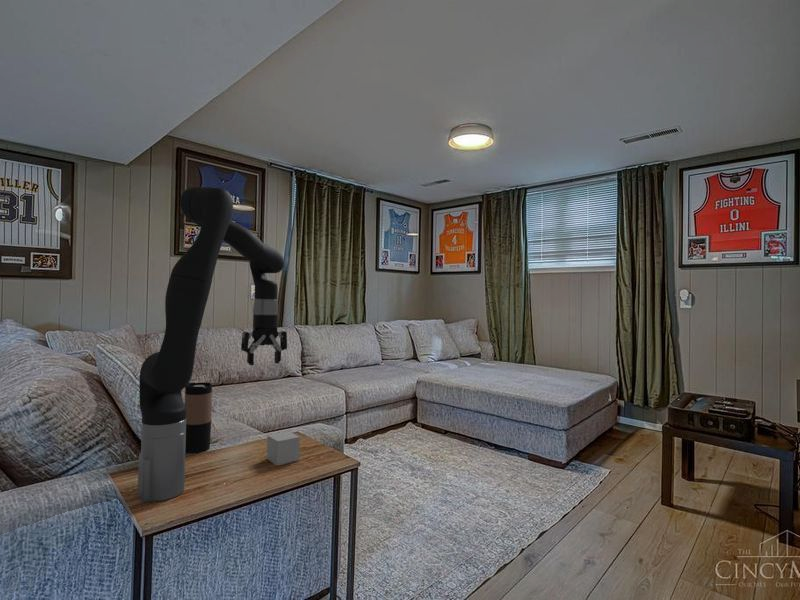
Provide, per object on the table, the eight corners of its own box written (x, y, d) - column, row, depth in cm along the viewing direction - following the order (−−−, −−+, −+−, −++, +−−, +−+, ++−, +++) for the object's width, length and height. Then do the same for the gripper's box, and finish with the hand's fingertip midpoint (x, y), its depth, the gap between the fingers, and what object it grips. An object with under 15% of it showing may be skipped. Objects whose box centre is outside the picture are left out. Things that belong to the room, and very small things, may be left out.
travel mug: (185, 446, 132) (187, 382, 133) (212, 444, 135) (213, 382, 135) (180, 454, 125) (182, 387, 125) (208, 452, 127) (210, 386, 128)
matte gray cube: (277, 465, 118) (277, 441, 118) (267, 458, 123) (267, 435, 123) (299, 460, 123) (299, 436, 123) (288, 453, 128) (289, 431, 128)
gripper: (248, 313, 127) (246, 367, 127) (291, 313, 137) (290, 363, 137) (239, 313, 133) (237, 364, 133) (281, 313, 142) (280, 361, 142)
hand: (264, 364), depth 135 cm, fingers open, 8 cm apart
